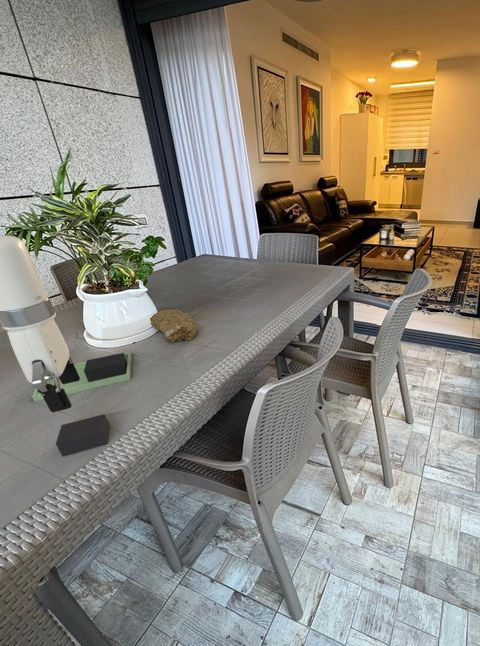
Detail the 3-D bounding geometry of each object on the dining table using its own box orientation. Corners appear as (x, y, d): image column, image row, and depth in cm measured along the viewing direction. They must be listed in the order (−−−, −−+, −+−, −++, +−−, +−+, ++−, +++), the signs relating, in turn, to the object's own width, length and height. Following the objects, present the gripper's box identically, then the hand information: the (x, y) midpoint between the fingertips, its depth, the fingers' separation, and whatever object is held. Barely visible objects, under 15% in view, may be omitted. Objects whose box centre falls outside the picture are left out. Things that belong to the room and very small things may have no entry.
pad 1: (62, 456, 70) (55, 443, 68) (68, 437, 74) (61, 424, 73) (107, 444, 72) (101, 431, 71) (110, 426, 77) (104, 413, 75)
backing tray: (35, 403, 85) (31, 396, 84) (47, 376, 96) (44, 369, 95) (130, 381, 92) (128, 374, 91) (132, 358, 103) (130, 352, 102)
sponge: (203, 341, 114) (188, 309, 127) (194, 322, 108) (180, 291, 121) (162, 357, 110) (151, 323, 123) (151, 339, 104) (141, 306, 117)
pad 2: (88, 382, 92) (83, 371, 90) (91, 371, 96) (86, 360, 95) (126, 373, 95) (122, 362, 93) (127, 363, 99) (123, 352, 98)
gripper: (15, 300, 65) (54, 377, 73) (-21, 339, 51) (31, 428, 59) (62, 293, 67) (94, 368, 76) (40, 327, 53) (82, 415, 62)
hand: (67, 394), depth 68 cm, fingers open, 9 cm apart
